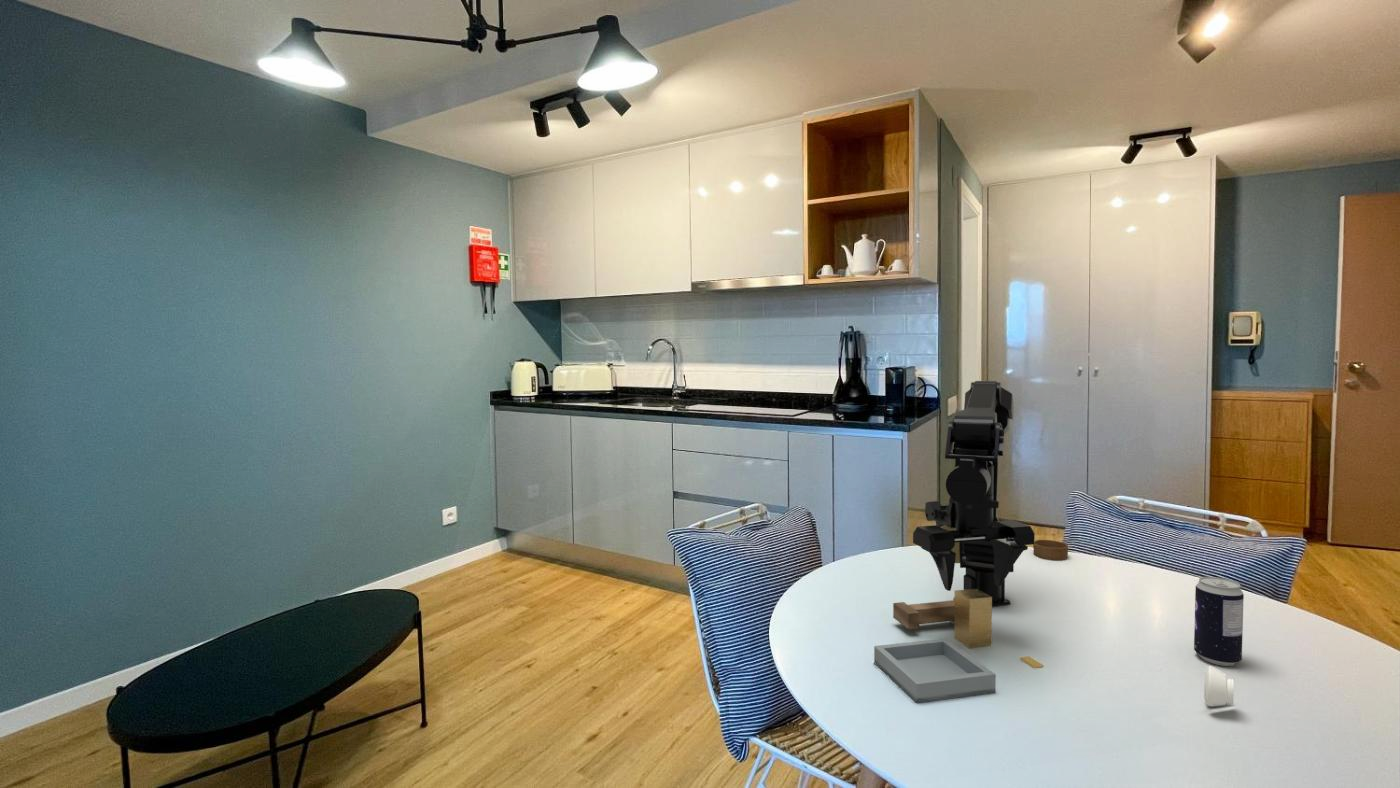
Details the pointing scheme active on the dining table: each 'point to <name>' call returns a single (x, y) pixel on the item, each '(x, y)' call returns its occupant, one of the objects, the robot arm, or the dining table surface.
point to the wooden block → (973, 618)
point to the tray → (934, 670)
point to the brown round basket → (1050, 550)
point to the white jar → (1217, 688)
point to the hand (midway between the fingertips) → (973, 587)
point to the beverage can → (1218, 621)
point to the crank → (924, 613)
